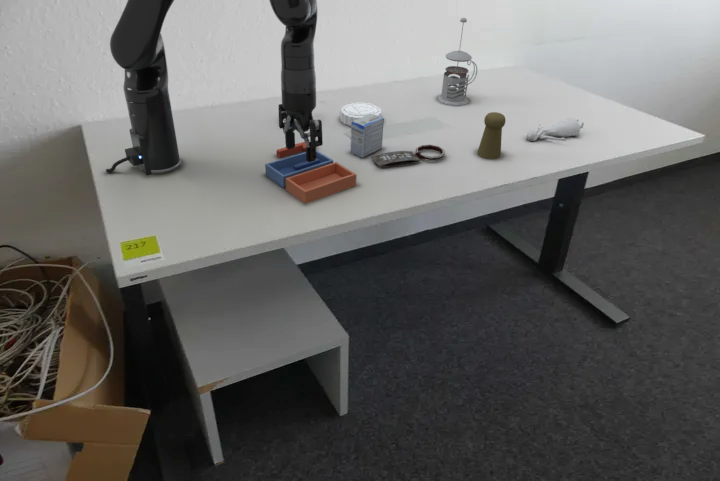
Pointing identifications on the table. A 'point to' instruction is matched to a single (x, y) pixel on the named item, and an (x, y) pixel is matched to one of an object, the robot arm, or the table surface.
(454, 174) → the table surface
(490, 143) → the olive game pawn
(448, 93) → the french press
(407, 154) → the keychain
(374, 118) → the medicine box
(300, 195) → the terracotta tote
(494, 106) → the table surface
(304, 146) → the terracotta spoon
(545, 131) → the woman figurine
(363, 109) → the mooncake
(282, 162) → the blue tote
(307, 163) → the blue spoon
